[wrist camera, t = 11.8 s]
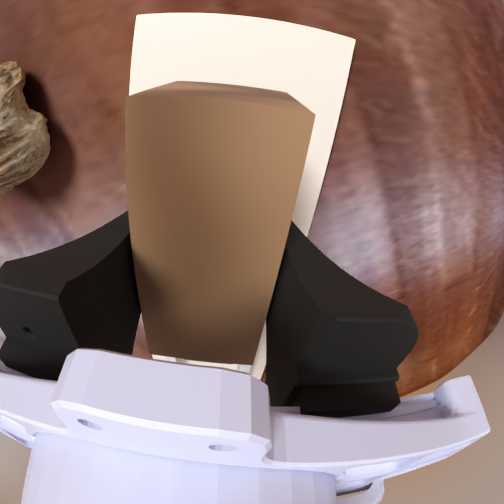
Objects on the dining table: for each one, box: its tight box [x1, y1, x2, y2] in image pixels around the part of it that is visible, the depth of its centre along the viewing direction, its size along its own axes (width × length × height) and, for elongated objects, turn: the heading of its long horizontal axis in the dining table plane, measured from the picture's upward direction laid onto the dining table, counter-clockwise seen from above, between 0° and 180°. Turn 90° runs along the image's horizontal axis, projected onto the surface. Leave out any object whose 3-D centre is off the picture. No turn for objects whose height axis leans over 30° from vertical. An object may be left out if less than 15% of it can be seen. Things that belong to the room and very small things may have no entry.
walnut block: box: [125, 81, 316, 365], centre depth 10 cm, size 4×9×5 cm, turn 172°
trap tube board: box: [129, 13, 355, 380], centre depth 21 cm, size 12×33×3 cm, turn 172°
